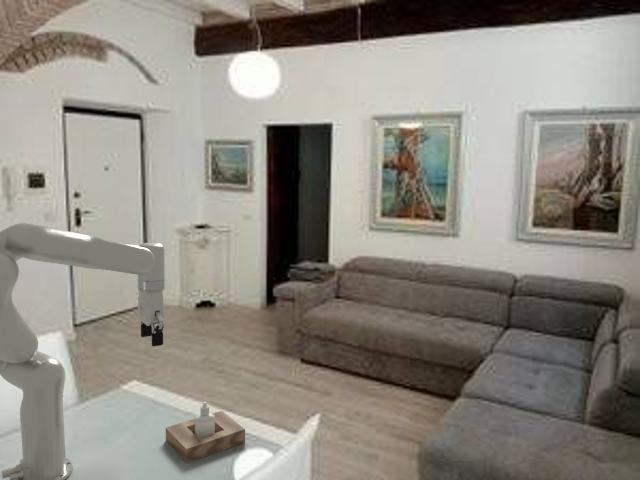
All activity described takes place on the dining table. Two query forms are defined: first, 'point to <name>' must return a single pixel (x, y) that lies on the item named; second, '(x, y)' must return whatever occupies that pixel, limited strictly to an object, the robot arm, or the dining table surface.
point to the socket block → (194, 447)
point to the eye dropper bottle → (204, 422)
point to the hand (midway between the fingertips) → (151, 340)
